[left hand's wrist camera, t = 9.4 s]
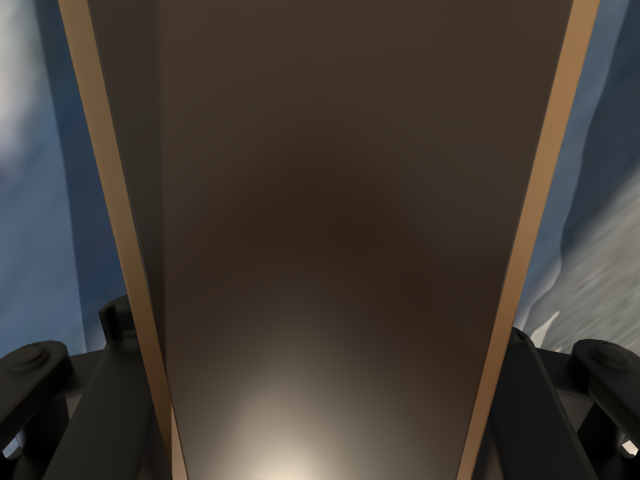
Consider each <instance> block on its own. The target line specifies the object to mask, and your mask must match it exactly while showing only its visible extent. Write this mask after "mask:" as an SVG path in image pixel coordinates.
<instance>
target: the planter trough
mask: <svg viewBox="0 0 640 480" xmlns="http://www.w3.org/2000/svg"><path fill="white" fill-rule="evenodd" d="M58 3H59V7H60V11H61V16H62V20H63V24H64V28H65V32H66V37H67V41H68V45H69V49H70V54H71V58H72V62H73V66H74V70H75V75H76V79H77V83H78V87H79V92H80V96H81V100H82V104H83V108H84V113H85V117H86V121H87V125H88V130H89V134H90V138H91V142H92V146H93V151H94V155H95V159H96V163H97V168H98V172H99V176H100V180H101V184H102V189H103V193H104V197H105V201H106V206H107V210H108V214H109V218H110V222H111V227H112V231H113V235H114V239H115V243H116V248H117V252H118V256H119V260H120V265H121V269H122V273H123V277H124V281H125V286H126V290H127V294H128V298H129V303H130V307H131V311H132V315H133V319H134V324H135V328H136V332H137V336H138V341H139V345H140V349H141V353H142V357H143V362H144V366H145V370H146V374H147V379H148V383H149V387H150V391H151V395H152V400H153V404H154V408H155V412H156V416H157V421H158V425H159V429H160V433H161V438H162V442H163V446H164V450H165V454H166V459H167V463H168V467H169V471H170V476H171V480H471V478H472V475H473V471H474V467H475V464H476V460H477V456H478V452H479V449H480V445H481V441H482V438H483V434H484V430H485V426H486V423H487V419H488V415H489V412H490V408H491V404H492V400H493V397H494V393H495V389H496V386H497V382H498V378H499V375H500V371H501V367H502V363H503V360H504V356H505V352H506V349H507V345H508V341H509V337H510V334H511V330H512V326H513V323H514V319H515V315H516V311H517V308H518V304H519V300H520V297H521V293H522V289H523V286H524V282H525V278H526V274H527V271H528V267H529V263H530V260H531V256H532V252H533V248H534V245H535V241H536V237H537V234H538V230H539V226H540V222H541V219H542V215H543V211H544V208H545V204H546V200H547V196H548V193H549V189H550V185H551V182H552V178H553V174H554V171H555V167H556V163H557V159H558V156H559V152H560V148H561V145H562V141H563V137H564V133H565V130H566V126H567V122H568V119H569V115H570V111H571V107H572V104H573V100H574V96H575V93H576V89H577V85H578V81H579V78H580V74H581V70H582V67H583V63H584V59H585V56H586V52H587V48H588V44H589V41H590V37H591V33H592V30H593V26H594V22H595V18H596V15H597V11H598V7H599V4H600V0H58Z"/></svg>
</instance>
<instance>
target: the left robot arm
mask: <svg viewBox="0 0 640 480" xmlns="http://www.w3.org/2000/svg"><path fill="white" fill-rule="evenodd" d="M98 313H99V316H100V320H101V323H102V327H103V331H104V334H105V338H106V341H107V344H106V346H105V348H104V349H102V350H98V351H94V352H89V353H84V354H79V355H74V356H69V353H68V350H67V347H66V345H64V344H63V343H62V342H59V341H43V342H36V343H32V344H28V345H25V346H22V347H21V348H19V349H17V350H15V351H12V352H10V353H9V354H7V355H6V356H4V357H3V358H1V359H0V480H171V476H170V471H169V467H168V463H167V459H166V454H165V450H164V446H163V442H162V438H161V433H160V429H159V425H158V421H157V416H156V412H155V408H154V404H153V400H152V395H151V391H150V387H149V383H148V379H147V374H146V370H145V366H144V362H143V357H142V353H141V349H140V345H139V341H138V336H137V332H136V328H135V324H134V319H133V315H132V311H131V307H130V303H129V298H128V295H125V296H123V297H120V298H117V299H115V300H113V301H111V302H109V303H108V304H106V305H104V306H103V307H102V309H101V310H100V311H99V312H98ZM625 435H626V436H627V437H628V439H629V440H630V441H631V442H632V443H633V444H634V445H635V446H636V447H637V449H638V452H637V454H636V455H635V456H634V457H633V456H632V455H631V454H630V453H628V452H627V451H626V449H625V448H624V447H623V446H622V445H621V443H622V441H623V439H624V437H625ZM14 438H16V440H17V442H18V444H19V447H18V448H17V449H16V450H15V451H14V452H13V453H12V454H11V455H10V456H9V457H8V458H6V457H5V456H4V454H3V452H2V451H3V450H4V449H5V448H6V447H7V445H8V444H9V443H10V442H11V441H12V440H13V439H14ZM471 480H640V357H639V356H637V355H636V354H634V353H633V352H631V351H629V350H627V349H625V348H623V347H621V346H619V345H617V344H614V343H611V342H610V343H609V342H608V341H603V340H595V339H584V340H579V341H578V342H576V343H575V344H574V346H573V349H572V352H571V355H569V354H564V353H559V352H554V351H549V350H544V349H540V348H536V347H535V345H534V343H533V342H532V341H531V339H530V338H529V337H528V335H526V334H525V333H523V332H522V331H520V330H519V329H517V328H515V327H512V330H511V334H510V337H509V341H508V345H507V349H506V352H505V356H504V360H503V363H502V367H501V371H500V375H499V378H498V382H497V386H496V389H495V393H494V397H493V400H492V404H491V408H490V412H489V415H488V419H487V423H486V426H485V430H484V434H483V438H482V441H481V445H480V449H479V452H478V456H477V460H476V464H475V467H474V471H473V475H472V478H471Z"/></svg>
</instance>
